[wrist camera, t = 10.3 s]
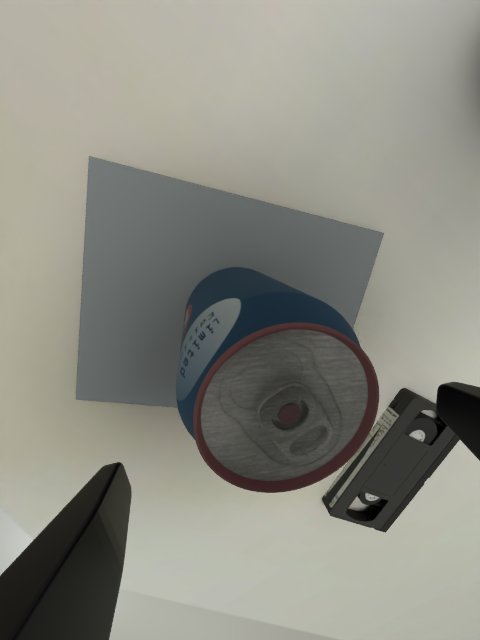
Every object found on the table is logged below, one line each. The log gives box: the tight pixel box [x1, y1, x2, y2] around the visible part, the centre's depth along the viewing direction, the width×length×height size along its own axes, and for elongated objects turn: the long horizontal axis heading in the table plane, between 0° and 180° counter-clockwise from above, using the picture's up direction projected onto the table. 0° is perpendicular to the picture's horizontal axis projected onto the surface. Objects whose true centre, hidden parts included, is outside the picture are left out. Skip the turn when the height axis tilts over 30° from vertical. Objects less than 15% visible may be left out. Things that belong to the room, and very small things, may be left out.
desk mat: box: [76, 156, 384, 407], centre depth 19 cm, size 20×16×1 cm
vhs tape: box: [322, 388, 460, 532], centre depth 26 cm, size 14×8×2 cm, turn 151°
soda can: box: [176, 267, 379, 493], centre depth 13 cm, size 7×7×12 cm
